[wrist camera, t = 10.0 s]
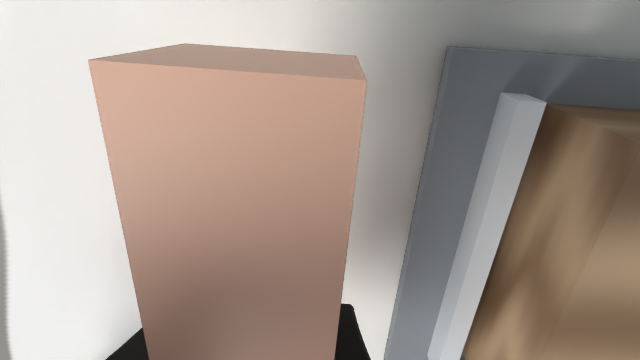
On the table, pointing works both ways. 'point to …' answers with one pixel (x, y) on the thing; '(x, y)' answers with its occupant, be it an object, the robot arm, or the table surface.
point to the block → (234, 194)
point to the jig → (482, 180)
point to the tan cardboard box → (568, 246)
